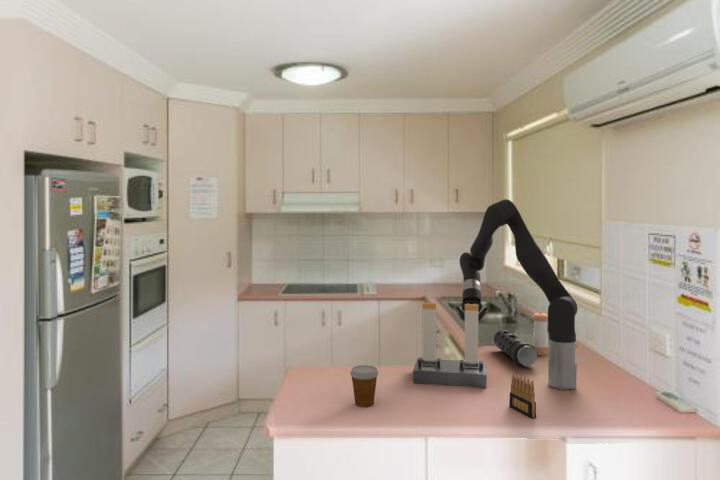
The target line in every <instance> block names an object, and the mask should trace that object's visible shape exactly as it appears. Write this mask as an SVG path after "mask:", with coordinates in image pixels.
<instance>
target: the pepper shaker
mask: <svg viewBox="0 0 720 480" xmlns="http://www.w3.org/2000/svg"><path fill="white" fill-rule="evenodd" d="M532 320H533V333H532V344H531V345H532V346H533V347H534V348H535V350H536V354H537V356H549V334H548V313H545V312H543V311H541V310H540V311H539V312H535V313H533V314H532Z"/></svg>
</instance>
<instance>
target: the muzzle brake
mask: <svg viewBox="0 0 720 480" xmlns="http://www.w3.org/2000/svg"><path fill="white" fill-rule="evenodd" d="M493 342H494V343H493V344H494V345H495V346H496V347H497V348H498V349H500V351H501V352H503V353H504V354H506V356H508V357H509V358H511V359H512V360H513V362H515V363H516V364H517V365H518V366H521V367H531V366H533V364H535V363H536V362H537V356H538V355H537V354H536V350H535V348H534V347H533V346H532V344H530V343H529V342H527V341H524V340H522V339H521V338H520V337H518V336H517V335H515V334H514V333H512V332H510V331H509V330H507V329H499V330H498V331H496V333H495V334H494V335H493Z"/></svg>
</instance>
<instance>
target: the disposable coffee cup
mask: <svg viewBox="0 0 720 480" xmlns="http://www.w3.org/2000/svg"><path fill="white" fill-rule="evenodd" d="M378 375H379V371H378V368H377V367H376V366H375V365H374V366H373V365H367V364H362V365H361V364H360V365H356V366H353V367H351V371H350V376H351V381H352V388H353V389H352V390H353V397H354V404H355V406H356V407H360V408H369V407H372V406H374V404H375V396H376V387H377V381H378V380H377V379H378Z"/></svg>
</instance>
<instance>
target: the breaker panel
mask: <svg viewBox="0 0 720 480" xmlns="http://www.w3.org/2000/svg"><path fill="white" fill-rule="evenodd" d="M422 360H423V357H421V356H420V357H418V358H417V359H416V361H415V363H414V367H413V369H412V384H418V385H429V386H430V385H433V386H447V387H463V388H477V389H487V385H488V384H487V362H486V361H483V360H478V367H464V362H465V359H459V360H458V359H457V360H456V359H454V360H453V359H441V358H439V357H438V358H437V357H436V360H435V361H436V365H430V364H422Z"/></svg>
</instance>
